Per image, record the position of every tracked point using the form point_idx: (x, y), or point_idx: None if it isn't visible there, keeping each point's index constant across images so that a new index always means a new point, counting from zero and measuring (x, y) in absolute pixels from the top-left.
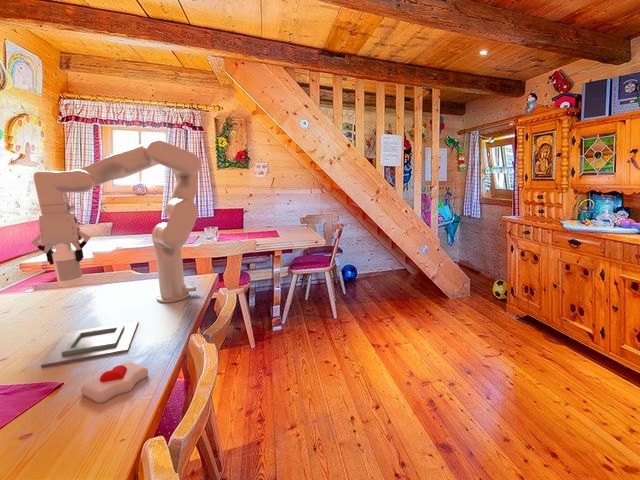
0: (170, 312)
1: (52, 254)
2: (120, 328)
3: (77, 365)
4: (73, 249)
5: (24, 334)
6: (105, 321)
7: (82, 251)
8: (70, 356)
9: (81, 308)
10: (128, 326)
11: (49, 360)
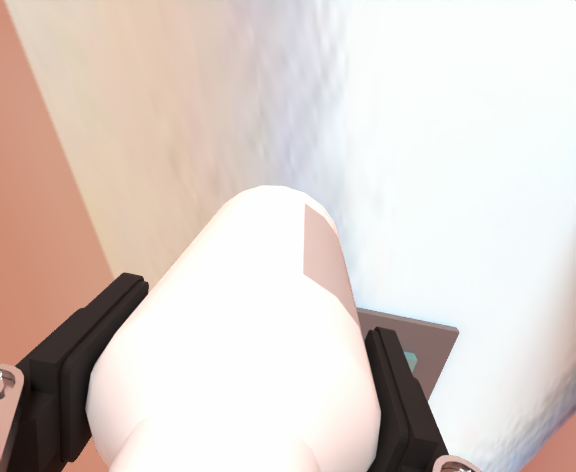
0: (571, 300)
1: (105, 461)
2: None
3: None
4: (343, 466)
5: (134, 208)
6: (369, 250)
7: (438, 439)
8: None
9: (288, 14)
10: (425, 355)
11: None
